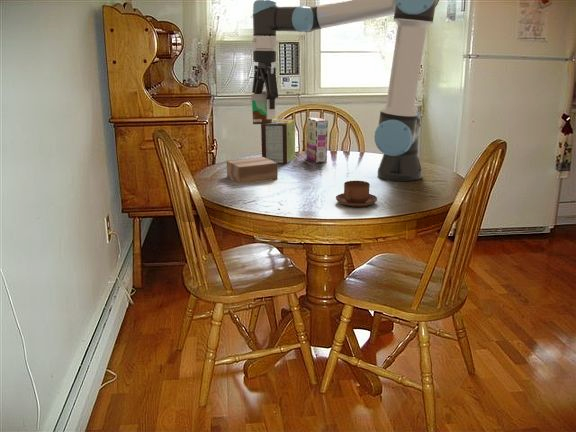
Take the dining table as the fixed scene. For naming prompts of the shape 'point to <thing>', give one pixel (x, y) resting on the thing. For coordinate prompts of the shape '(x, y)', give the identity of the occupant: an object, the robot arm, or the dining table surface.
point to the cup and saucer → (356, 194)
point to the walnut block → (252, 170)
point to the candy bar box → (317, 139)
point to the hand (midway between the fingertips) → (264, 116)
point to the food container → (260, 108)
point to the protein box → (278, 140)
